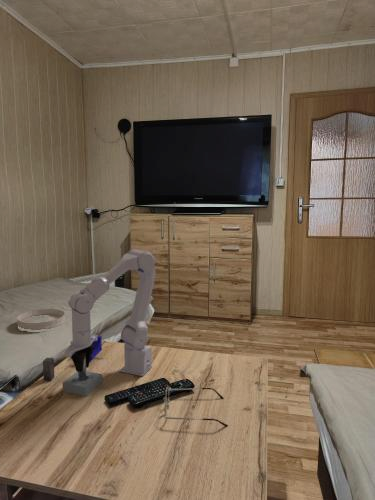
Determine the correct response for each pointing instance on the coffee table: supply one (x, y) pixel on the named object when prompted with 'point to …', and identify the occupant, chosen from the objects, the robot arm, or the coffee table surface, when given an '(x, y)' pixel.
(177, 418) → the eyeglasses
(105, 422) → the coffee table surface
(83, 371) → the round bit
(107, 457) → the coffee table surface
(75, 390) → the socket block
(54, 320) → the dish
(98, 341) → the blue arched block
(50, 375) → the square bit
